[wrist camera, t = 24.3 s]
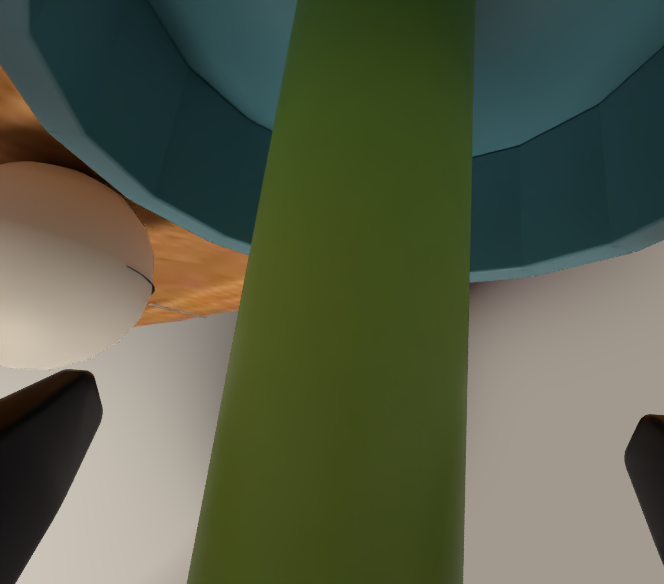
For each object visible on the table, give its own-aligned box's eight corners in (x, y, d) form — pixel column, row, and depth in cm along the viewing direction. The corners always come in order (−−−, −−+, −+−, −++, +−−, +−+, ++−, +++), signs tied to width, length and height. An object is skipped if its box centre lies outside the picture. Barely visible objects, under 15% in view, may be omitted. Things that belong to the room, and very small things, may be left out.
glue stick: (461, -134, 6) (394, 1568, 2) (484, 49, 9) (473, 947, 5) (268, -54, 7) (6, 1092, 3) (340, 83, 10) (239, 812, 6)
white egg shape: (-70, 154, 16) (-160, 346, 14) (-1, 78, 12) (-116, 340, 10) (163, 255, 24) (128, 391, 22) (259, 231, 19) (227, 399, 17)
